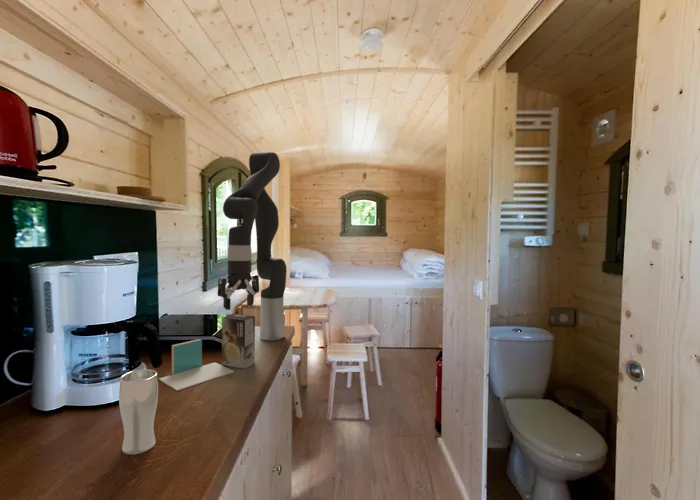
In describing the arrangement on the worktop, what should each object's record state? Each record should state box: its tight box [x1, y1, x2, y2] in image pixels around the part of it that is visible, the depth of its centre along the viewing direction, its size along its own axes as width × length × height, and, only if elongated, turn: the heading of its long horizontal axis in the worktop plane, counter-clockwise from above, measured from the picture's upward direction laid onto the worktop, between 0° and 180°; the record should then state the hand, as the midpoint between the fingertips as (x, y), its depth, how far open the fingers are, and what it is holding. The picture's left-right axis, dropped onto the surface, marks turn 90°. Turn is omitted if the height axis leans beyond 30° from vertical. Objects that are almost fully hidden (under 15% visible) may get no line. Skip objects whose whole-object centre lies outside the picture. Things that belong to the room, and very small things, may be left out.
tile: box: [171, 338, 203, 375], centre depth 115 cm, size 9×2×9 cm, turn 141°
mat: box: [158, 362, 235, 392], centre depth 111 cm, size 18×11×1 cm, turn 141°
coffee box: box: [221, 313, 256, 369], centre depth 121 cm, size 9×6×16 cm
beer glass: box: [118, 368, 159, 456], centre depth 75 cm, size 7×7×15 cm
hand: (238, 307), depth 121 cm, fingers open, 8 cm apart
